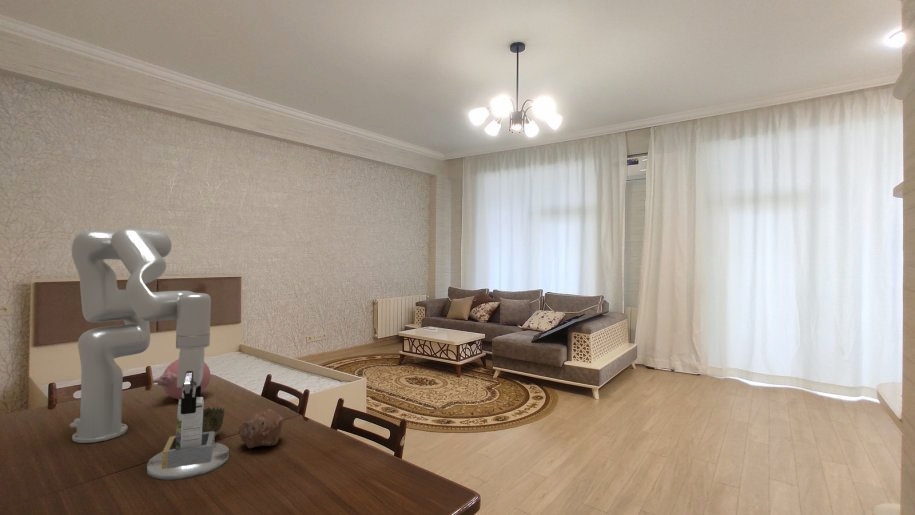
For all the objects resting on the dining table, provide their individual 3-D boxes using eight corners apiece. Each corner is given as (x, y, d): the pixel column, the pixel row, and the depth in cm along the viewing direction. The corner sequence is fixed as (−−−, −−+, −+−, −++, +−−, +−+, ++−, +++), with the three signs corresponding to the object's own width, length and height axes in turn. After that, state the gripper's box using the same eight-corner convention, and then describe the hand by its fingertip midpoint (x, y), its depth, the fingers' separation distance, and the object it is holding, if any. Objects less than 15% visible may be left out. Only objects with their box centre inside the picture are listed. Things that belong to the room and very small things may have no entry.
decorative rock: (268, 456, 118) (269, 419, 118) (228, 454, 119) (229, 417, 119) (290, 436, 132) (290, 403, 132) (253, 434, 132) (254, 401, 132)
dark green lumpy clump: (210, 444, 125) (211, 416, 125) (188, 441, 126) (189, 413, 126) (229, 434, 132) (230, 407, 132) (208, 431, 133) (209, 405, 133)
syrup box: (175, 454, 115) (177, 398, 115) (201, 449, 118) (203, 395, 118) (174, 463, 110) (176, 405, 110) (202, 458, 113) (204, 401, 113)
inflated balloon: (137, 404, 155) (139, 361, 156) (193, 390, 173) (194, 351, 173) (163, 412, 149) (165, 367, 149) (218, 396, 166) (220, 356, 167)
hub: (138, 485, 102) (139, 461, 102) (155, 453, 118) (155, 433, 118) (226, 472, 109) (226, 449, 109) (230, 443, 125) (231, 424, 125)
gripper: (181, 336, 120) (179, 398, 120) (169, 348, 104) (167, 420, 104) (212, 334, 123) (211, 395, 123) (206, 346, 107) (203, 416, 107)
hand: (191, 407), depth 114 cm, fingers open, 9 cm apart
